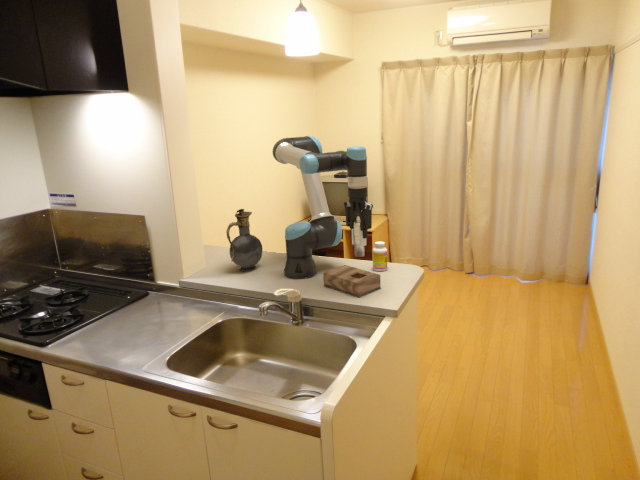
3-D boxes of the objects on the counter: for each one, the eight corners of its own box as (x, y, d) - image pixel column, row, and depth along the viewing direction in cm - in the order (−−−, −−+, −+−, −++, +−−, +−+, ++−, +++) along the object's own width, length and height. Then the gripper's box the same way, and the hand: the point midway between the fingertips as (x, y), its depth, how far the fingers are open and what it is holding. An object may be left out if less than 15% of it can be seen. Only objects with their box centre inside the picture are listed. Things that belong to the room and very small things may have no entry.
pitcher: (267, 265, 223) (262, 205, 215) (240, 277, 208) (233, 213, 200) (250, 262, 229) (245, 204, 221) (223, 274, 213) (216, 211, 206)
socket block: (324, 285, 192) (323, 272, 191) (345, 277, 200) (345, 264, 199) (358, 297, 178) (358, 283, 176) (380, 288, 186) (380, 274, 184)
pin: (352, 255, 184) (351, 222, 180) (359, 253, 186) (358, 220, 183) (360, 257, 181) (359, 223, 177) (366, 255, 183) (365, 221, 180)
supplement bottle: (386, 271, 206) (386, 244, 202) (372, 271, 207) (371, 244, 204) (387, 267, 212) (387, 240, 209) (373, 266, 213) (373, 240, 210)
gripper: (335, 186, 180) (337, 243, 186) (367, 189, 168) (369, 250, 174) (348, 184, 185) (350, 239, 191) (380, 187, 173) (381, 246, 179)
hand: (359, 244), depth 182 cm, fingers closed on pin, 4 cm apart
